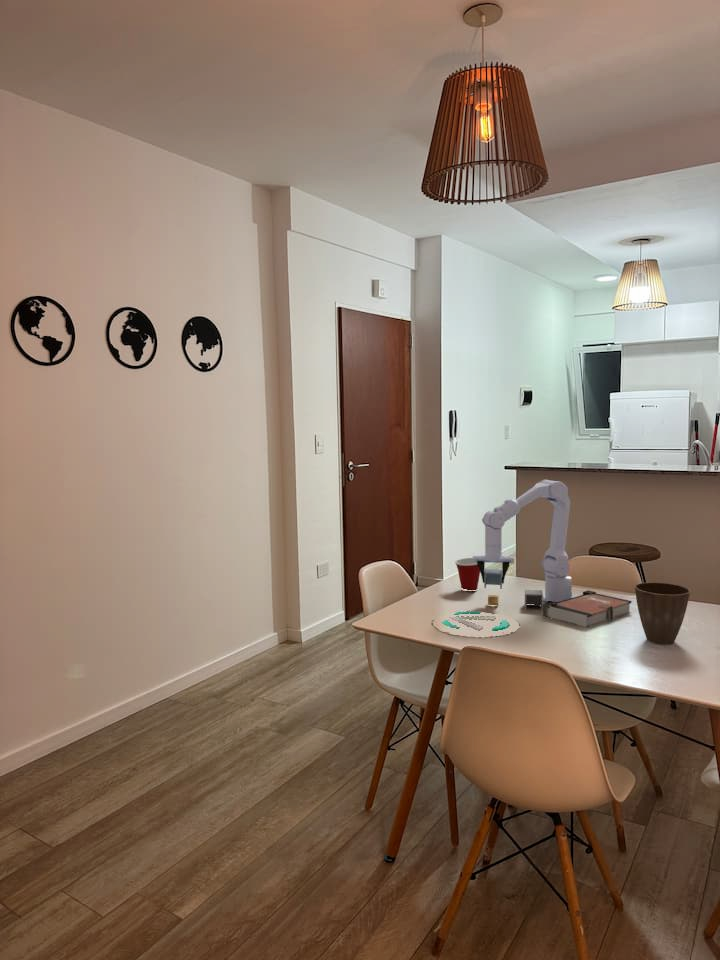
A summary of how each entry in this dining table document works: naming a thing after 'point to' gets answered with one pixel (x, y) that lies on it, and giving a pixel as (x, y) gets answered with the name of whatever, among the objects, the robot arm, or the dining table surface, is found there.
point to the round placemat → (503, 623)
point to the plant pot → (661, 610)
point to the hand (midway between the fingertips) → (493, 582)
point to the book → (587, 609)
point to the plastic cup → (468, 573)
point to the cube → (493, 600)
